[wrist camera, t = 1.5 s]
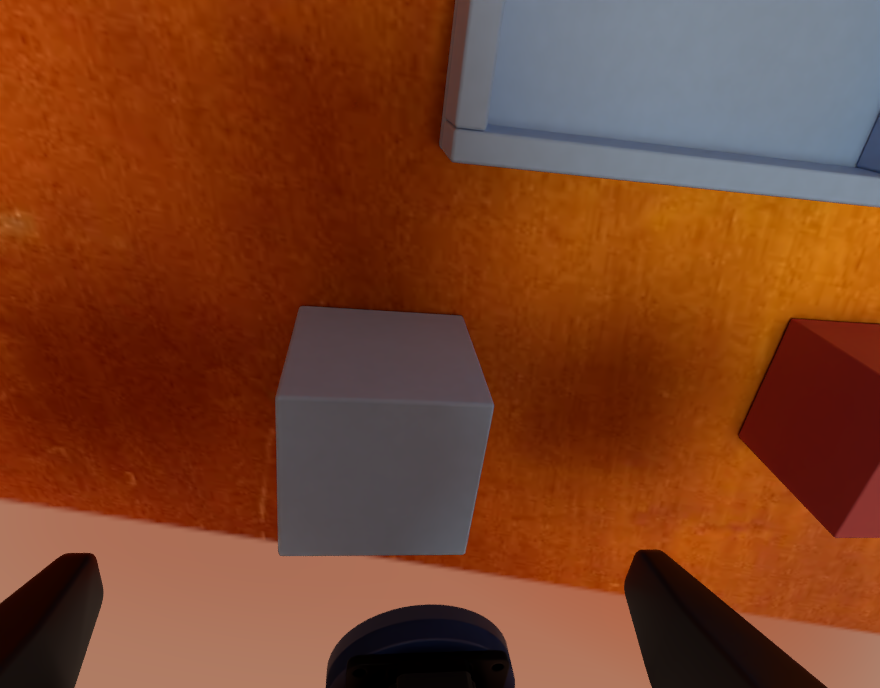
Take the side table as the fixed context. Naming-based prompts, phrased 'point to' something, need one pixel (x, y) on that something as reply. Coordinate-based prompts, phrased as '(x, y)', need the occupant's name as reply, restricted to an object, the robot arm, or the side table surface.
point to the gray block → (379, 434)
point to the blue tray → (672, 93)
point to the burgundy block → (824, 422)
